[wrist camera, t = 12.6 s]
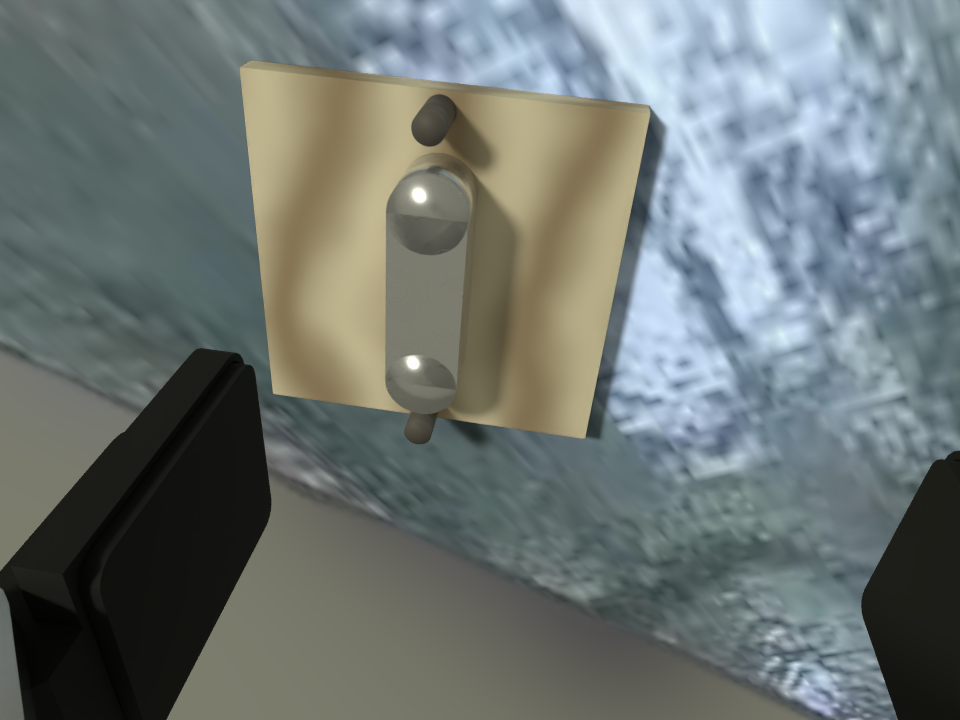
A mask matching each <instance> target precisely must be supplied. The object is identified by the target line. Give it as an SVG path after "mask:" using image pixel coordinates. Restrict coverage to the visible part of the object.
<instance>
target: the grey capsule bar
mask: <svg viewBox="0 0 960 720" xmlns="http://www.w3.org/2000/svg"><path fill="white" fill-rule="evenodd" d="M477 203H478V186H477V182H476V179H475V177H474V175H473V173H472V171H471V170H470V169H469V167H468V166H467V165H466V164H465V163H463V162H462V161H461V160H459V159H458V158H456V157H454V156H452V155H449V154H445V153H429V154H426V155H423V156H421V157H419V158H417V159H416V160H414V161H413V162H412V163H411V164H410V165H409V167H408V168H407V170H406V171H405V173H404V174H403V176H402V177H401V179H400V181H399V182H398V184H397V185H396V187H395V188H394V190H393V192H392V193H391V195H390V197H389V199H388V202H387V206H386V316H385V384H386V388H387V391H388V393H389V395H390V396H391V398H392V399H393V400H394V401H395V402H396V403H397V404H398V405H400V406H401V407H403V408H404V409H406V410H409V411H411V412H415V413H419V414H432V413H436V412H439V411H442V410H443V409H445V408H446V407H448V406H449V405H450V404H451V402H452V401H453V399H454V397H455V394H456V390H457V387H458V383H459V379H460V376H461V372H462V369H463V365H464V361H465V356H466V344H467V331H468V318H469V305H470V292H471V280H472V267H473V254H474V241H475V228H476V215H477Z"/></svg>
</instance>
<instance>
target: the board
mask: <svg viewBox="0 0 960 720" xmlns="http://www.w3.org/2000/svg"><path fill="white" fill-rule="evenodd" d="M240 74H241V84H242V94H243V104H244V113H245V123H246V133H247V143H248V153H249V162H250V172H251V182H252V192H253V201H254V211H255V221H256V231H257V240H258V250H259V260H260V270H261V279H262V289H263V299H264V309H265V318H266V328H267V338H268V348H269V357H270V367H271V377H272V387H273V394H278V395H285V396H292V397H299V398H306V399H313V400H320V401H327V402H334V403H341V404H348V405H355V406H362V407H369V408H376V409H382V410H389V411H396V412H403V413H410V416H409V419H408V421H407V424H406V427H405V430H404V434H405V436H406V438H407V439H408V440H409V441H410V442H412V443H415V444H424V443H427V442H428V441H429V440H430V438H431V435H432V431H433V428H434V424H435V421H436V418H437V417H438V418H445V419H452V420H459V421H466V422H473V423H480V424H487V425H493V426H500V427H507V428H514V429H521V430H528V431H535V432H542V433H549V434H556V435H563V436H570V437H577V438H584V439H585V436H586V431H587V426H588V421H589V416H590V411H591V406H592V401H593V396H594V391H595V386H596V381H597V376H598V372H599V367H600V362H601V357H602V352H603V347H604V342H605V337H606V332H607V327H608V322H609V317H610V312H611V307H612V302H613V297H614V292H615V287H616V282H617V277H618V272H619V267H620V262H621V257H622V252H623V248H624V243H625V238H626V233H627V228H628V223H629V218H630V213H631V208H632V203H633V198H634V193H635V188H636V183H637V178H638V173H639V168H640V163H641V158H642V153H643V148H644V143H645V138H646V133H647V128H648V123H649V119H650V109H649V105H642V104H633V103H625V102H616V101H607V100H598V99H589V98H580V97H571V96H562V95H553V94H545V93H536V92H527V91H518V90H509V89H500V88H491V87H482V86H473V85H465V84H456V83H447V82H438V81H429V80H420V79H411V78H402V77H393V76H385V75H376V74H367V73H358V72H349V71H340V70H331V69H322V68H313V67H305V66H296V65H287V64H278V63H269V62H260V61H250V62H248V63H246V64H245V65H243V66H241V67H240ZM429 153H445V154H449V155H452V156H454V157H456V158H458V159H459V160H461V161H462V162H463V163H465V164H466V165H467V166H468V167H469V169H470V170H471V171H472V173H473V175H474V177H475V179H476V182H477V186H478V203H477V215H476V228H475V241H474V254H473V267H472V280H471V292H470V305H469V318H468V331H467V344H466V356H465V361H464V365H463V369H462V372H461V376H460V379H459V383H458V387H457V390H456V394H455V397H454V399H453V401H452V402H451V404H450V405H449V406H448V407H446V408H445V409H443V410H442V411H439V412H436V413H432V414H419V413H415V412H411V411H409V410H406V409H404V408H403V407H401V406H400V405H398V404H397V403H396V402H395V401H394V400H393V399H392V398H391V396H390V395H389V393H388V391H387V388H386V384H385V316H386V206H387V202H388V199H389V197H390V195H391V193H392V192H393V190H394V188H395V187H396V185H397V184H398V182H399V181H400V179H401V177H402V176H403V174H404V173H405V171H406V170H407V168H408V167H409V165H410V164H411V163H412V162H413V161H414V160H416V159H417V158H419V157H421V156H423V155H426V154H429Z"/></svg>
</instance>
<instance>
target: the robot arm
mask: <svg viewBox="0 0 960 720" xmlns="http://www.w3.org/2000/svg"><path fill="white" fill-rule="evenodd" d="M270 512H271V494H270V486H269V478H268V470H267V462H266V455H265V447H264V439H263V431H262V424H261V416H260V408H259V400H258V392H257V385H256V377H255V372H254V369H253V367H252V366H251V365H246V364H244V362H243V359H242V357H241V355H240V354H238V353H233V352H225V351H218V350H211V349H203V348H200V349H196V350H195V351H194V352H193V353H192V354H191V355H190V356H189V357H188V358H187V360H186V361H185V362H184V363H183V364H182V365H181V367H180V368H179V369H178V370H177V371H176V372H175V374H174V375H173V376H172V377H171V378H170V379H169V381H168V382H167V383H166V384H165V385H164V386H163V388H162V389H161V390H160V391H159V392H158V394H157V395H156V396H155V397H154V398H153V399H152V401H151V402H150V403H149V404H148V405H147V406H146V408H145V409H144V410H143V411H142V412H141V413H140V415H139V416H138V417H137V418H136V419H135V420H134V422H133V423H132V424H131V425H130V426H129V428H128V429H127V430H126V431H125V432H123V433H121V434H120V435H119V436H117V437H116V438H115V439H114V440H113V441H112V442H111V443H110V445H109V446H108V447H107V448H106V449H105V450H104V452H103V453H102V454H101V455H100V456H99V457H98V458H97V460H96V461H95V462H94V463H93V464H92V465H91V466H90V468H89V469H88V470H87V471H86V472H85V473H84V475H83V476H82V477H81V478H80V479H79V480H78V482H77V483H76V484H75V485H74V486H73V487H72V489H71V490H70V491H69V492H68V493H67V494H66V496H65V497H64V498H63V499H62V500H61V501H60V503H59V504H58V505H57V506H56V507H55V508H54V509H53V511H52V512H51V513H50V514H49V515H48V516H47V518H46V519H45V520H44V521H43V522H42V523H41V525H40V526H39V527H38V528H37V529H36V530H35V532H34V533H33V534H32V535H31V536H30V537H29V539H28V540H27V541H26V542H25V543H24V545H22V547H21V548H20V549H19V550H18V551H17V552H16V554H15V555H14V556H13V557H12V558H11V559H10V561H9V562H8V563H7V564H6V565H5V567H3V569H2V570H1V571H0V720H166V719H167V717H168V715H169V713H170V711H171V709H172V707H173V705H174V703H175V701H176V700H177V698H178V696H179V694H180V692H181V690H182V688H183V686H184V684H185V682H186V680H187V678H188V676H189V675H190V672H191V670H192V669H193V667H194V665H195V663H196V661H197V659H198V657H199V655H200V653H201V651H202V649H203V647H204V645H205V643H206V641H207V640H208V638H209V636H210V634H211V632H212V630H213V628H214V626H215V624H216V622H217V620H218V618H219V616H220V614H221V613H222V611H223V609H224V607H225V605H226V603H227V601H228V599H229V597H230V595H231V593H232V591H233V589H234V587H235V585H236V583H237V582H238V580H239V578H240V576H241V574H242V572H243V570H244V568H245V566H246V564H247V562H248V560H249V558H250V556H251V554H252V552H253V551H254V548H255V547H256V545H257V543H258V541H259V539H260V537H261V535H262V533H263V531H264V529H265V527H266V525H267V523H268V519H269V517H270ZM861 607H862V615H863V619H864V622H865V625H866V628H867V631H868V634H869V636H870V639H871V642H872V645H873V648H874V651H875V654H876V657H877V660H878V663H879V666H880V669H881V671H882V674H883V677H884V680H885V683H886V686H887V689H888V692H889V695H890V698H891V701H892V703H893V706H894V709H895V712H896V715H897V718H898V720H960V451H954V452H952V453H951V454H950V455H948V456H947V458H946V459H945V460H943V459H941V460H937V461H935V462H934V463H933V464H932V466H931V467H930V469H929V471H928V473H927V474H926V476H925V478H924V480H923V482H922V484H921V485H920V487H919V489H918V491H917V493H916V495H915V497H914V498H913V500H912V502H911V504H910V506H909V508H908V510H907V511H906V513H905V515H904V517H903V519H902V521H901V523H900V524H899V526H898V528H897V530H896V532H895V534H894V536H893V537H892V539H891V541H890V543H889V545H888V547H887V549H886V550H885V552H884V554H883V556H882V558H881V560H880V562H879V563H878V565H877V567H876V569H875V571H874V573H873V575H872V576H871V578H870V580H869V582H868V584H867V586H866V588H865V590H864V592H863V596H862V605H861Z"/></svg>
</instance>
